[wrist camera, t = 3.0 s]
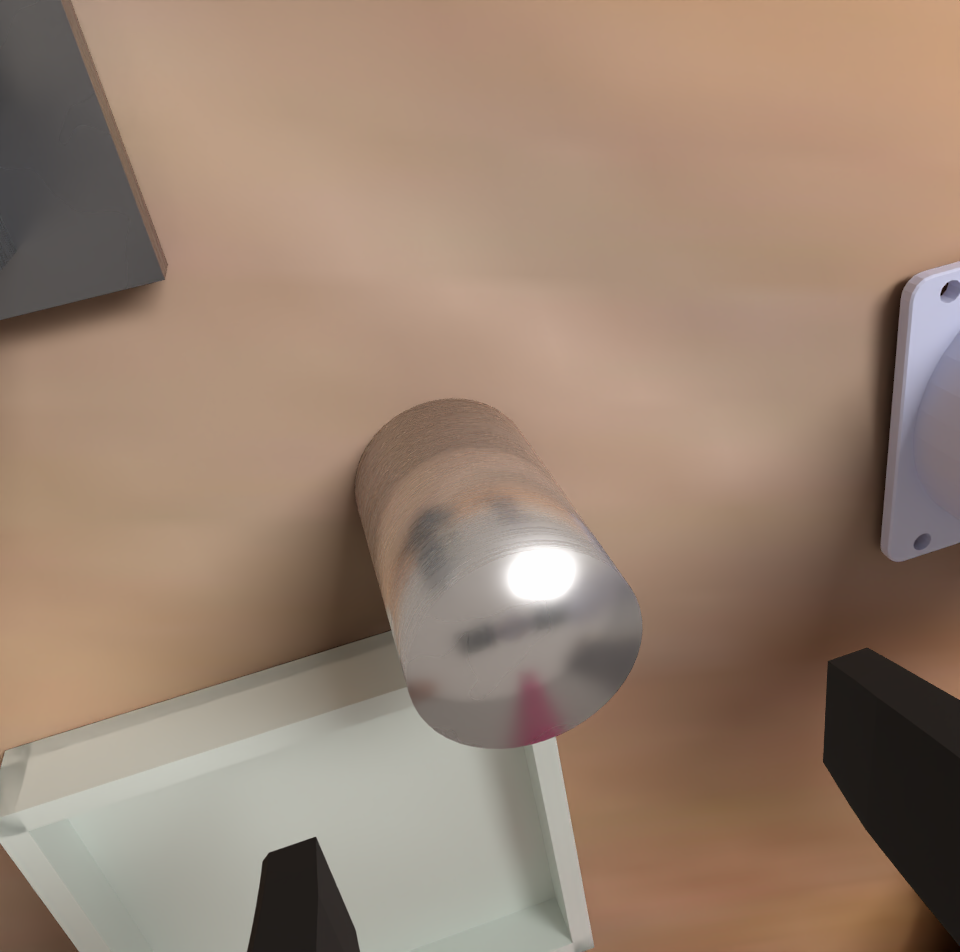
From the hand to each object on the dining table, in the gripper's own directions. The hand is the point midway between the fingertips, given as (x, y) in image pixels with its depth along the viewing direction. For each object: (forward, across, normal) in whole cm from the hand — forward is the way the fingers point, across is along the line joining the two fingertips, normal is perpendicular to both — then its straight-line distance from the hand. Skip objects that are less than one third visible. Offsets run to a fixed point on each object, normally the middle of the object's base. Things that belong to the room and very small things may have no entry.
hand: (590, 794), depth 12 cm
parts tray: (+9, +5, +10) cm, 14 cm away
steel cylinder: (+9, 0, 0) cm, 9 cm away
